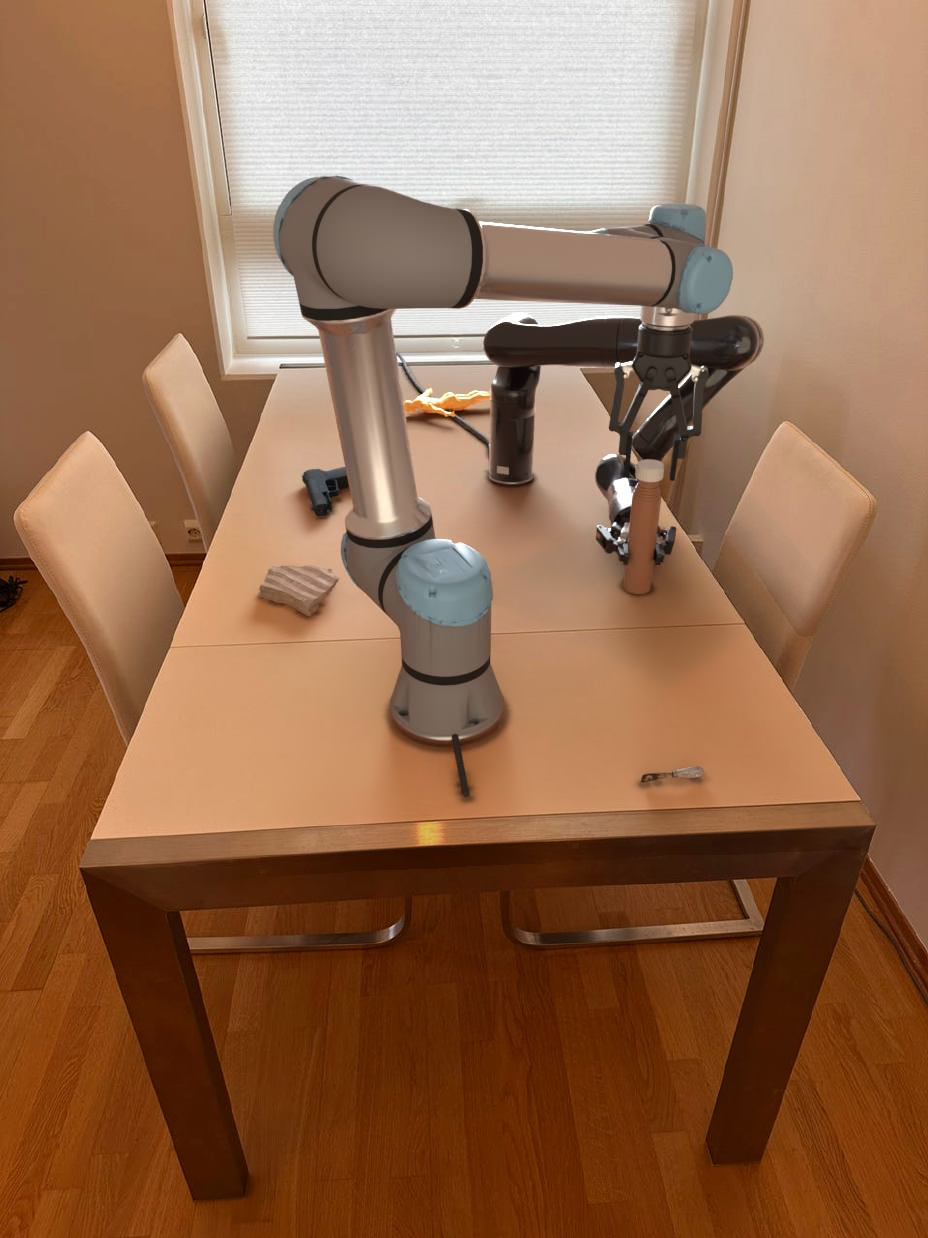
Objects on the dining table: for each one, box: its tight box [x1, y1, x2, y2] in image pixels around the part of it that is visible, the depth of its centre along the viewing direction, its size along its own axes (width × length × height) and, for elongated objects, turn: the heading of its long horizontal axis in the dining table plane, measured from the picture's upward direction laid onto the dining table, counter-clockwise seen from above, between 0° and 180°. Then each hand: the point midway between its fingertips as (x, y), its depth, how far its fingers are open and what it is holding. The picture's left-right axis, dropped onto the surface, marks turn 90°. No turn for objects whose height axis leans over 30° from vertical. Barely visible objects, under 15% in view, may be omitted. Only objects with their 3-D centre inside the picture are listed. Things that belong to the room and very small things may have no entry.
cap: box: [635, 459, 665, 483], centre depth 138 cm, size 4×4×2 cm
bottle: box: [622, 480, 662, 595], centre depth 144 cm, size 4×4×21 cm
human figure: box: [403, 385, 490, 418], centre depth 225 cm, size 20×20×4 cm
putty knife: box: [640, 765, 705, 784], centre depth 109 cm, size 1×8×2 cm, turn 103°
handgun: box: [301, 466, 350, 518], centre depth 180 cm, size 3×18×12 cm
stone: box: [258, 564, 339, 617], centre depth 147 cm, size 13×12×3 cm
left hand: (649, 475), depth 139 cm, fingers open, 6 cm apart
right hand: (642, 560), depth 144 cm, fingers closed on bottle, 4 cm apart
